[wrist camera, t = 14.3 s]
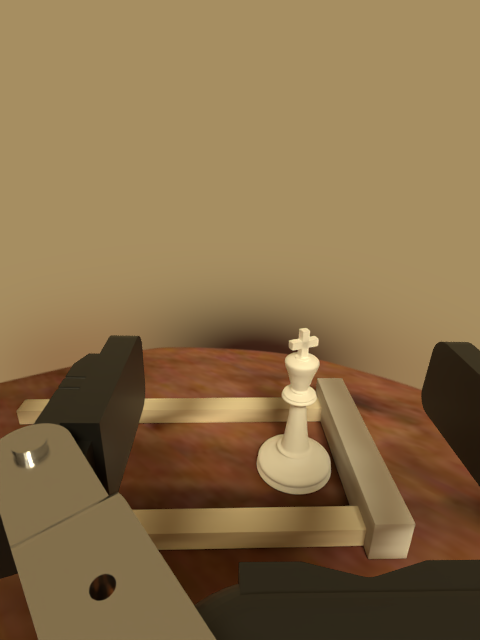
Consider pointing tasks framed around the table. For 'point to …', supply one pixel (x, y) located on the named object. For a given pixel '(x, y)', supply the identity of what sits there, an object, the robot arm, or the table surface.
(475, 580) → the robot arm
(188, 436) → the table surface
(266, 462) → the chess piece
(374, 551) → the track
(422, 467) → the table surface
